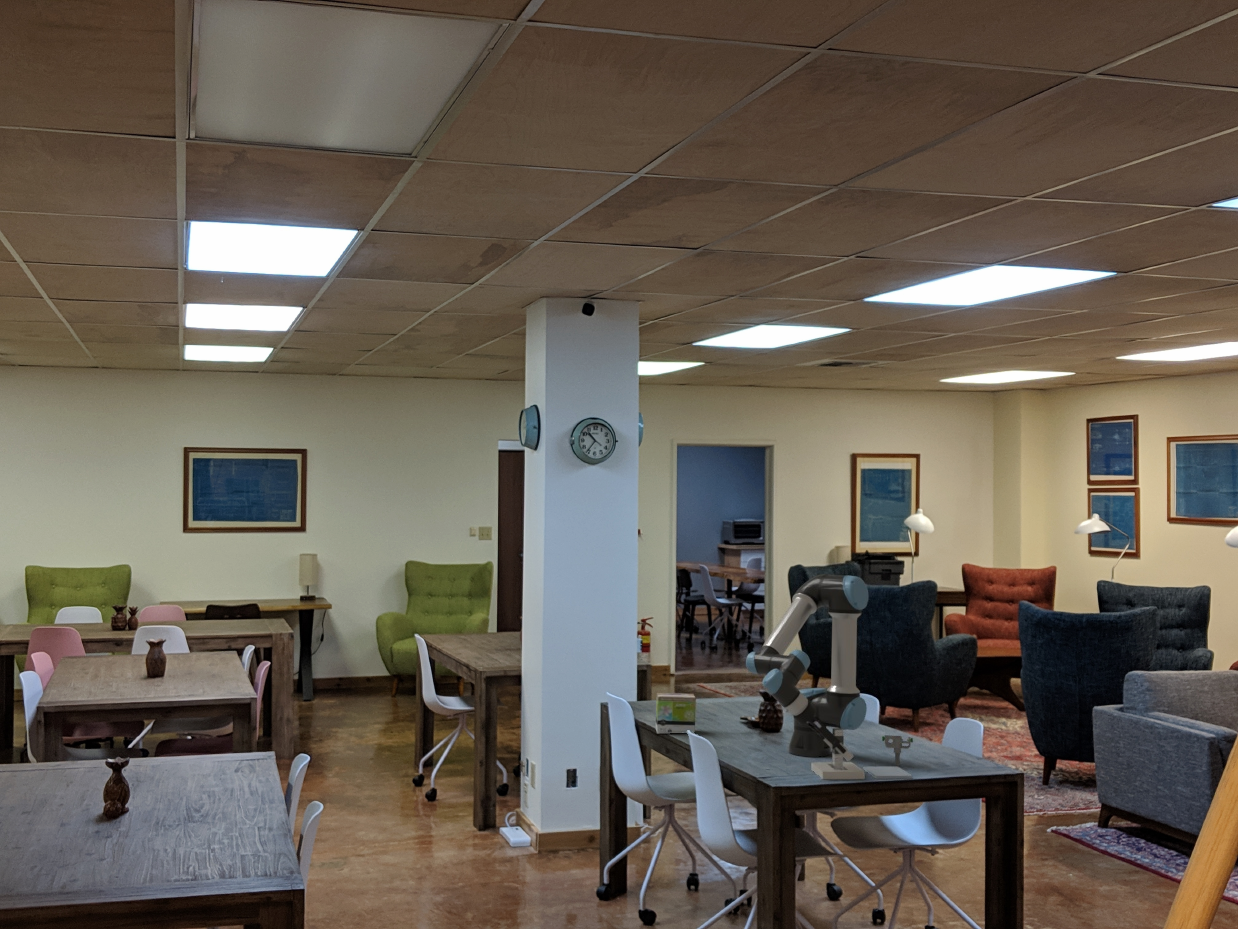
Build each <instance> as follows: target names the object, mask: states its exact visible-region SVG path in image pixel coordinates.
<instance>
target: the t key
mask: <svg viewBox="0 0 1238 929" xmlns="http://www.w3.org/2000/svg"><path fill="white" fill-rule="evenodd" d="M832 734H833V735H834V736H835V737H836V738H837V739H838V740H840V741H841V743H842V744H843V745H844V743H845V742H844V730H843V729H841V728H834V727H832ZM835 742H836V741H835ZM835 742H834V743H835ZM844 746H845V745H844ZM832 747H833V745H832ZM831 756H832V759H831V760H832V766H830V767H832V768H833V769H834V770H844V769H843V762H844V757H843V756H842V755H841V754H840V753H839V752H838V751H837V750H836V749H833V748H831Z"/></svg>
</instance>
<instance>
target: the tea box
mask: <svg viewBox="0 0 1238 929" xmlns="http://www.w3.org/2000/svg"><path fill="white" fill-rule="evenodd" d="M655 699H656V700H655V730H656V734H670V733H682V732H684V733H686V731H687V730H690V731H693V732H695V731H696V709H697V708H696V707H697V706H696V704H697V702H696V700H697V699H696V696H695V694H694V693H681V692H680V693H678V692H677V693H676V692H673V693H672V692H656V698H655Z"/></svg>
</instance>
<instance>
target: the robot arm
mask: <svg viewBox="0 0 1238 929" xmlns="http://www.w3.org/2000/svg"><path fill="white" fill-rule="evenodd" d="M791 600H792V603H791V604H790V605H789V607H788V608H787V610H786V612H785V613H784V614H783V616H782V617H781V619H780V620H779V622H778V623H777V624H776V626H775V628H773V629H772V632H771V633H770V635H769V636H768V638H767V639H766V640H765V642H764V643H763V645H762V647H761V648H760V649H759V651H751V652H750V653H748V654H747V656H746V660H745V667H746V669H747V671H748V672H749V673H751V674H755V675H758V676H764V677H763V678H762V686H763V688H765V689H766V690H765V691H767V692H768V694H770V695H771V696H772V697H773V698H774V699H775V700H776V701H777V702H778V703H779V704H780V705H781V706H782V707H783V708H784V709H785V710H784V712H785V713H789V714H790V715H791V716H793V732H792V735H791V739H790V741H789V745H788V753H789V754H791V755H794V756H798V757H799V756H800V757H808V758H809V757H812V758H814V757H815V758H818V757H819V756H821V757H826V756H830V755H832V748H833V749H836V750H837V751H838V752H839V753H840V754H841V755H842V756H843V759H845V760H846V762H851V760H852V759H853V758H854V757H855V756H854V755H853V753H852V752H851V751H850V750H849V749H848V748H847V747H846V746H845V745H843V744H842V743H841V741H840V740H838V739H837V738H836V737H835V736H834V735H833V732H831V730H829V729H828V728H829V727H830V728H841V729H843V731H846V730H848V731H854V730H857V729H859V728H860V727H861V726H862V724H863V723H864V721H865V718H866V716H867V711H868V710H867V709H868V708H867V703H866V701H865V700H866V699H864V698H863V697H861V691H860V690H859V688H858V687H857V685H856V684H857V682H856V680H857V640H858V639H857V637H858V636H857V633H858V632H857V630H858V629H857V626H858V622H857V621H858V618H859V617H860V616H861V615H862V611H863V609H866V607H867V605H868V603H869V590H868V586H867V584H866V583H865V581H864V580H863V579H862V578H861V577H859V576H856V575H846V574H845V575H842V574H841V575H839V574H827V573H826V574H825V573H824V574H818V575H816V576H813V577H812V578H810V579H809V580H807V581H805V583H803V584H802V585H801V586H800V587H799V588H798V589H797V590H796V592H795V593H794V595H793V596H792V599H791ZM822 607H824V608H825V607H826V608H828V610H827V613H828V614H829V615H830V617H831V618H832V623H831V624H832V625H831V673H830V674H831V677H830V678H831V680H830V686H828V688H826V687H814V688H813V687H812V688H802V689H798V687H796V686H797V685H798V684H799V682H800V680H801V679H802V677H804V675H805V673H806V672H807V670H808V668H809V667H810V664H811V660H810V657H809V656H808V654H807V653H806V652H804V650H800V649H794V650H791V652H790V653H789V654H788V655H785V652H786V651H787V649H788V648H789V646H790V645H791V643H792V642H793V640H794V639H795V637H797V635H798V633H799V632H800V631H801V629H802V628H803V626H804V624H805V623H806V622H807V620H808V619H809V617H810V615H813V614H815V613H816V612H817V610H818V609H819V608H822ZM827 727H828V728H827ZM835 741H836V742H835ZM834 742H835V743H834ZM832 745H833V747H832Z"/></svg>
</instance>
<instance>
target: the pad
mask: <svg viewBox="0 0 1238 929" xmlns="http://www.w3.org/2000/svg"><path fill="white" fill-rule="evenodd" d="M862 770H863V771H864V770H865V773H867V772H868V775H870V776H871V775H872V776H871V777H873V778H874V779H875V780H895V779H896V780H912V779H913V776H912V774H911V773H909V772H907V771H905V770H904V769H902V768H901V767H900V766H863V768H862Z"/></svg>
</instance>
